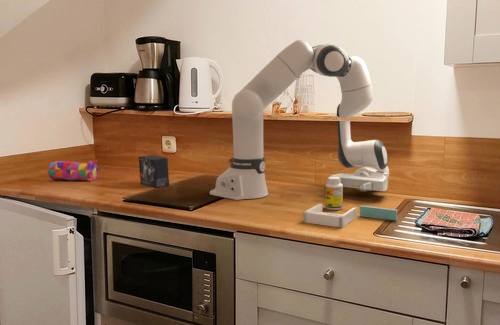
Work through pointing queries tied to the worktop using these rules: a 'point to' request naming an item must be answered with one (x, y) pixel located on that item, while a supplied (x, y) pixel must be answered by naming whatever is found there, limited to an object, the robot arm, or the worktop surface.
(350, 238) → the worktop surface
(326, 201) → the supplement bottle
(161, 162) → the small box
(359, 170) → the robot arm
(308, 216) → the tray
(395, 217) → the teal flat bar
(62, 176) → the pencil case
